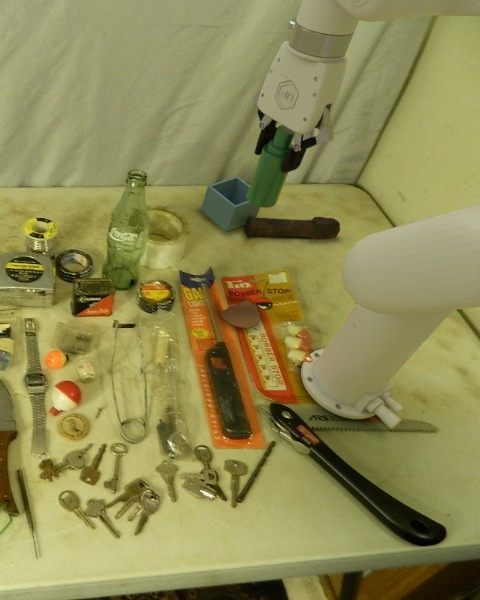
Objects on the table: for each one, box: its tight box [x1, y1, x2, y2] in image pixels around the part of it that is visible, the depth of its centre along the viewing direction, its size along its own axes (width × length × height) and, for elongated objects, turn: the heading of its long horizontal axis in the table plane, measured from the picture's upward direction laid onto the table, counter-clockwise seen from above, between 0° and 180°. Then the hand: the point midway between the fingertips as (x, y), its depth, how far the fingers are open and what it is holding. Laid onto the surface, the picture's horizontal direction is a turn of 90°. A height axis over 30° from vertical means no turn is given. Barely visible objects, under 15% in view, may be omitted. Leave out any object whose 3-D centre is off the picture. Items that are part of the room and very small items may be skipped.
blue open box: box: [200, 175, 261, 233], centre depth 108 cm, size 8×8×6 cm
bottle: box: [246, 124, 295, 209], centre depth 84 cm, size 5×5×12 cm
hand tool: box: [244, 215, 341, 240], centre depth 106 cm, size 19×4×5 cm, turn 88°
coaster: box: [218, 299, 261, 330], centre depth 91 cm, size 7×7×1 cm
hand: (275, 160), depth 83 cm, fingers closed on bottle, 5 cm apart
